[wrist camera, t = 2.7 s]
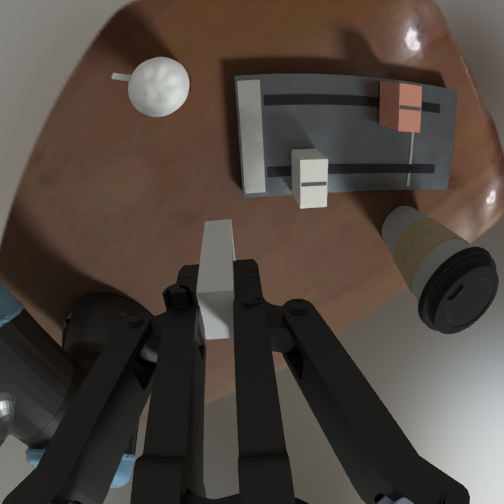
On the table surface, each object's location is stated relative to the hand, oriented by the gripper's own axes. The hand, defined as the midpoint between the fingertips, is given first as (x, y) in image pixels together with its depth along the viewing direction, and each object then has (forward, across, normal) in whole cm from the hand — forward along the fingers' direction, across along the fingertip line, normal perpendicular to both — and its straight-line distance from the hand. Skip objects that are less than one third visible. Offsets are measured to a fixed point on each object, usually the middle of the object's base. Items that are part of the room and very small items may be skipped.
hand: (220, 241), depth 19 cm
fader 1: (+13, +8, 0) cm, 15 cm away
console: (+15, +14, +3) cm, 21 cm away
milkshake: (+15, -4, +9) cm, 18 cm away
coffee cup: (+15, +21, -8) cm, 27 cm away
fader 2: (+13, +17, +7) cm, 22 cm away
